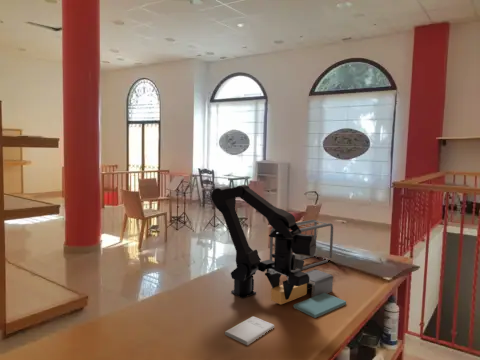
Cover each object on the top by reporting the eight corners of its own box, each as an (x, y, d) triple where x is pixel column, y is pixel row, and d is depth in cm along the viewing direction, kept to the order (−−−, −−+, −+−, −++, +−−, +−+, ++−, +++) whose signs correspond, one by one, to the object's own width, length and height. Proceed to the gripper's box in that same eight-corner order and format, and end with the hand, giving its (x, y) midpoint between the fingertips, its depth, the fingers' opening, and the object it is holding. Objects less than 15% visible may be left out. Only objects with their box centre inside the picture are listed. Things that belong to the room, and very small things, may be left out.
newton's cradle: (314, 255, 178) (315, 218, 176) (332, 261, 170) (334, 222, 168) (268, 268, 159) (269, 227, 157) (286, 275, 151) (288, 232, 149)
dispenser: (312, 298, 129) (313, 282, 128) (295, 291, 135) (296, 275, 134) (332, 291, 136) (332, 275, 135) (314, 284, 142) (315, 269, 141)
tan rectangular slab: (280, 304, 121) (281, 292, 121) (271, 300, 125) (271, 288, 124) (306, 294, 130) (306, 283, 129) (296, 290, 133) (297, 279, 133)
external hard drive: (224, 336, 105) (252, 320, 114) (247, 347, 99) (274, 329, 109) (224, 330, 104) (252, 315, 114) (247, 341, 99) (274, 324, 109)
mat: (315, 318, 115) (315, 314, 115) (293, 307, 122) (293, 304, 122) (346, 304, 125) (346, 301, 125) (324, 295, 132) (324, 292, 132)
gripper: (321, 254, 121) (319, 300, 122) (280, 241, 135) (279, 282, 137) (298, 260, 114) (296, 309, 116) (257, 246, 128) (256, 289, 130)
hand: (281, 296), depth 125 cm, fingers closed on tan rectangular slab, 4 cm apart
